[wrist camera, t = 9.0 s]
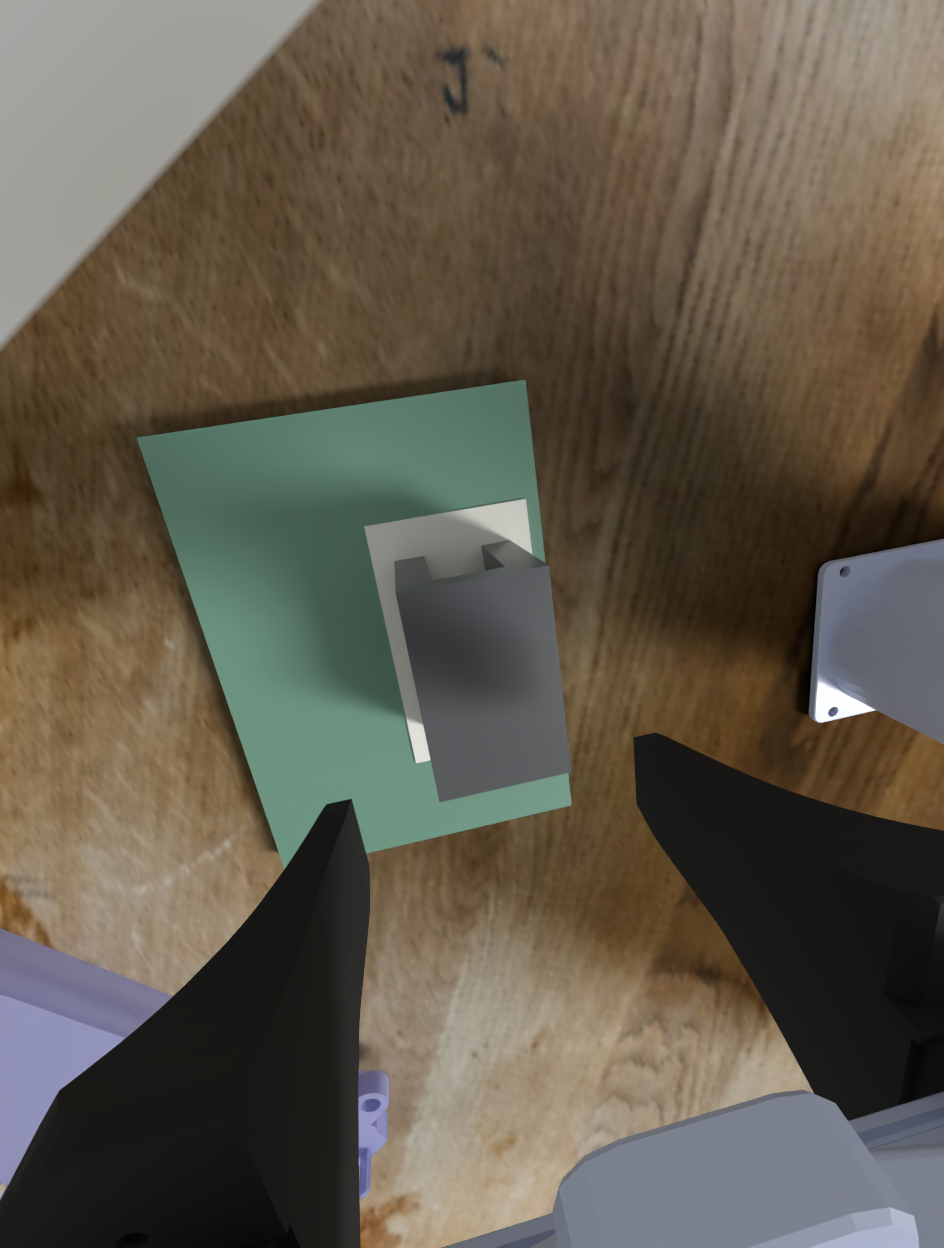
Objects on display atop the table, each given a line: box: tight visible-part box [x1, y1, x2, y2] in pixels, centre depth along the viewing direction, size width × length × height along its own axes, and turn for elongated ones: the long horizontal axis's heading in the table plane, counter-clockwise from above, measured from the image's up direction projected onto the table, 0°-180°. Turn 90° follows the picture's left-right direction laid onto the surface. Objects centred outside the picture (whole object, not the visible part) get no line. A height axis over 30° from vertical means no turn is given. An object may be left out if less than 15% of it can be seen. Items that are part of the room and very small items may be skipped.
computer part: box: [0, 928, 389, 1200], centre depth 23 cm, size 30×4×15 cm
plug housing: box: [394, 540, 571, 802], centre depth 18 cm, size 4×7×5 cm, turn 9°
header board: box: [137, 380, 571, 869], centre depth 19 cm, size 13×18×4 cm
